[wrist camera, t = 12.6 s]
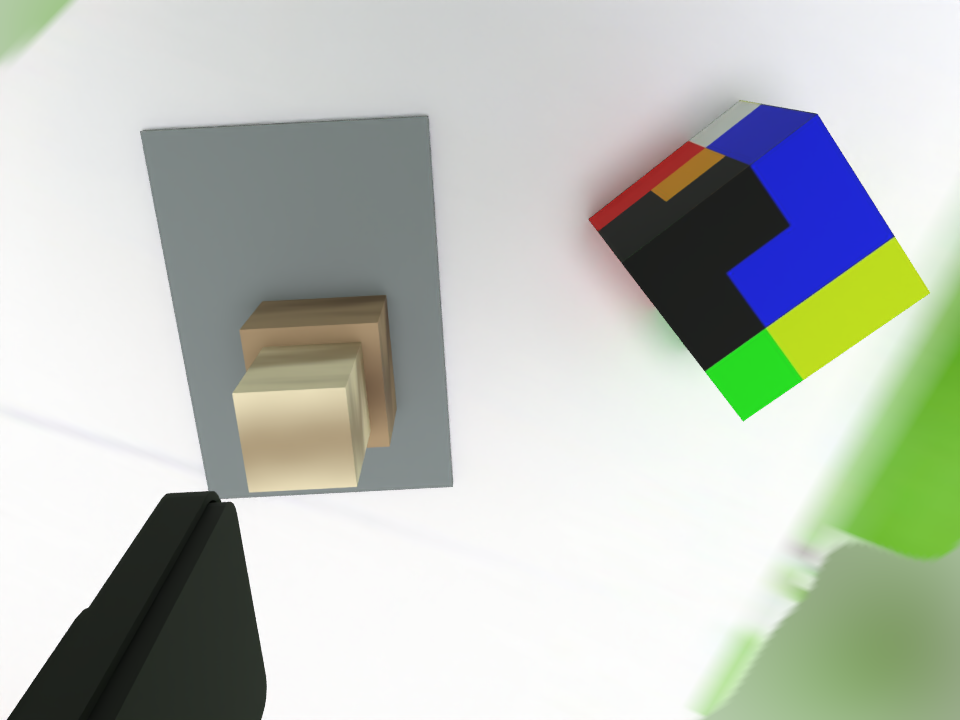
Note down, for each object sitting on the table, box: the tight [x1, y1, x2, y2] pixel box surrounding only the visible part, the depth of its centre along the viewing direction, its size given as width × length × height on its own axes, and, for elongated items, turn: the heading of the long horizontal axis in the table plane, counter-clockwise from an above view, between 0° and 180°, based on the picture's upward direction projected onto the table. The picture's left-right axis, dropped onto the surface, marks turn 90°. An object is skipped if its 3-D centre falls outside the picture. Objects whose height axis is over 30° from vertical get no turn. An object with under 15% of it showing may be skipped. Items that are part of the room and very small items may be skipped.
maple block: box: [232, 342, 371, 493], centre depth 39 cm, size 5×5×6 cm
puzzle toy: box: [589, 100, 930, 421], centre depth 41 cm, size 10×10×10 cm
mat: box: [140, 116, 453, 499], centre depth 46 cm, size 22×15×1 cm
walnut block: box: [240, 295, 397, 448], centre depth 45 cm, size 7×7×5 cm
